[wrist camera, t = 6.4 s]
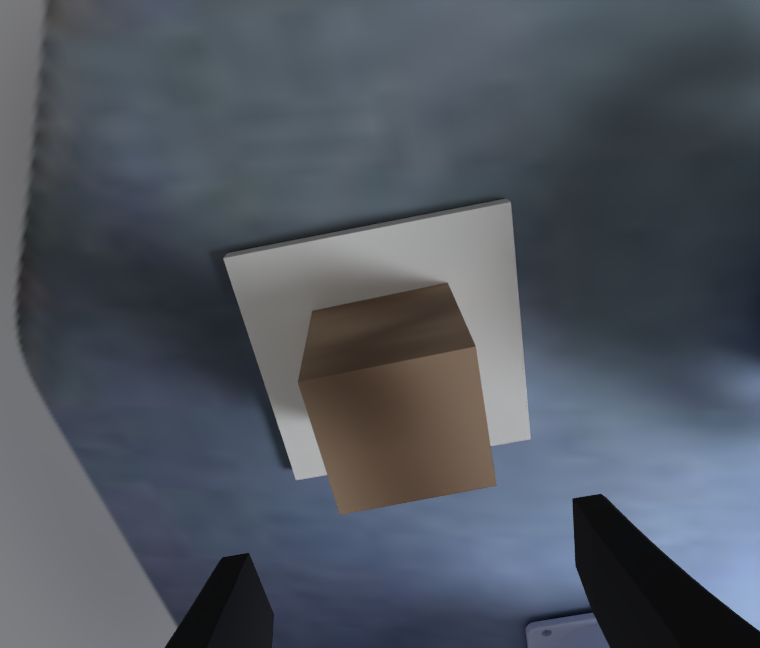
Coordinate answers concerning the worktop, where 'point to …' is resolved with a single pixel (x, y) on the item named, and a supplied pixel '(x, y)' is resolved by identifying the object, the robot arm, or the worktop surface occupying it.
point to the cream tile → (380, 278)
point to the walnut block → (396, 399)
